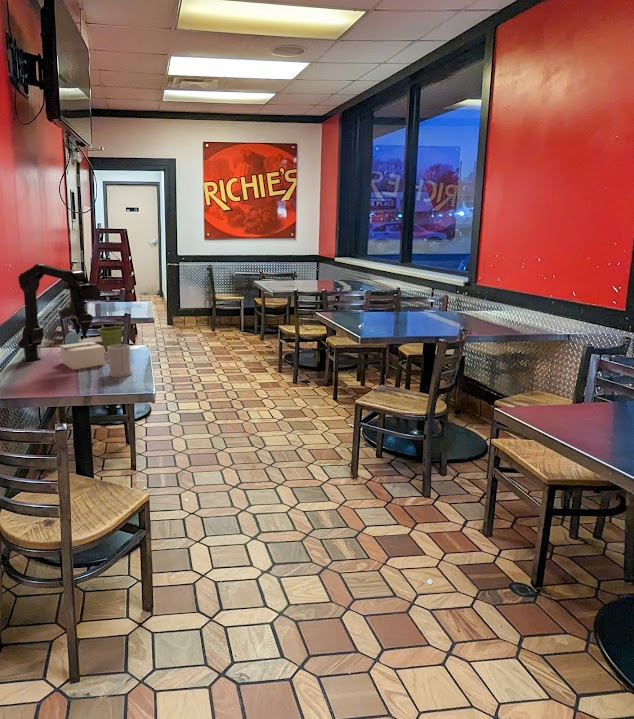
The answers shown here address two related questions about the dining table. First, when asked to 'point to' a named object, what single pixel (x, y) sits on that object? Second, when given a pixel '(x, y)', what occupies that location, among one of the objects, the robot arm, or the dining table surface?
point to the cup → (118, 360)
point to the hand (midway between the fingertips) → (80, 335)
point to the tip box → (82, 355)
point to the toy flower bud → (72, 338)
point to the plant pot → (110, 336)
